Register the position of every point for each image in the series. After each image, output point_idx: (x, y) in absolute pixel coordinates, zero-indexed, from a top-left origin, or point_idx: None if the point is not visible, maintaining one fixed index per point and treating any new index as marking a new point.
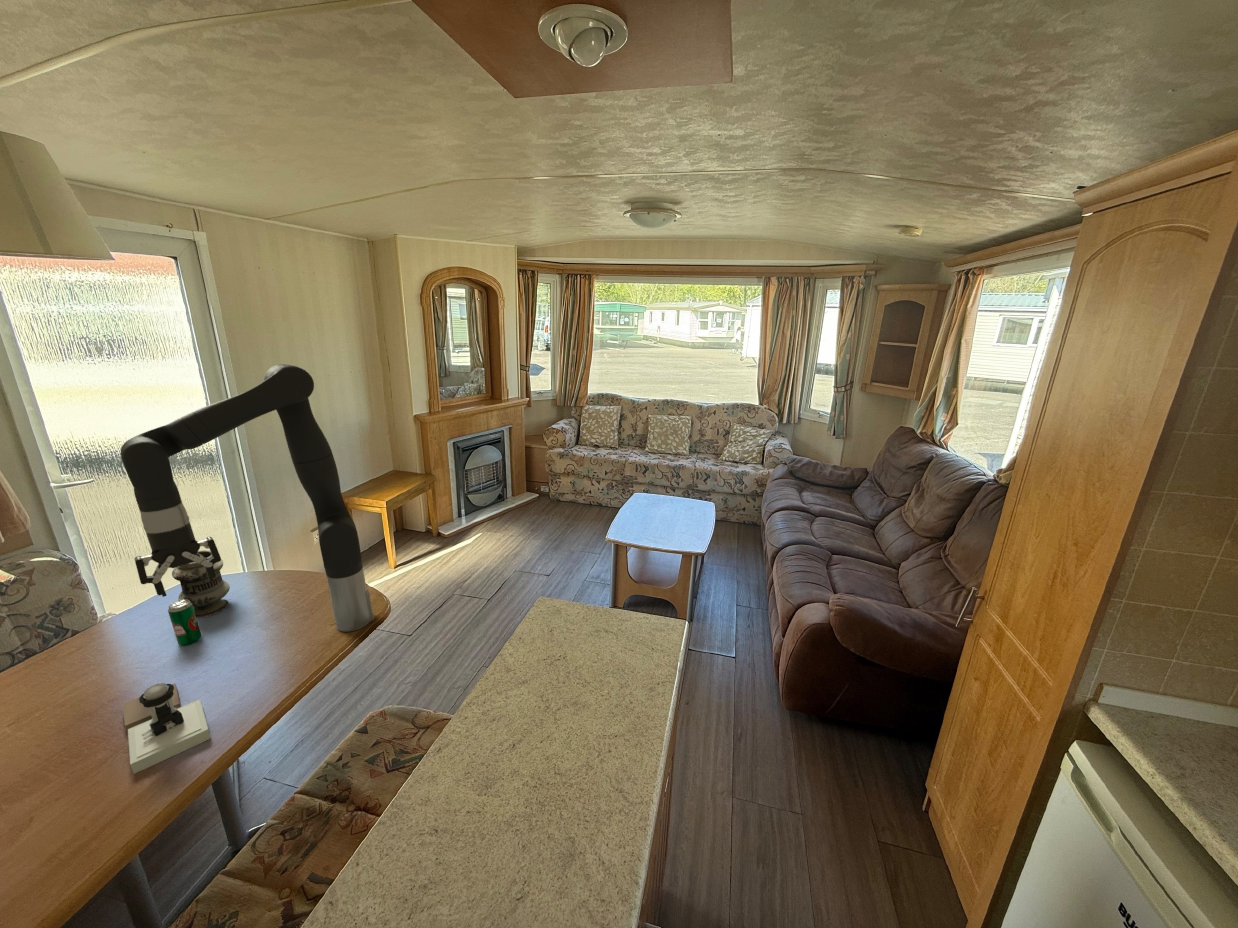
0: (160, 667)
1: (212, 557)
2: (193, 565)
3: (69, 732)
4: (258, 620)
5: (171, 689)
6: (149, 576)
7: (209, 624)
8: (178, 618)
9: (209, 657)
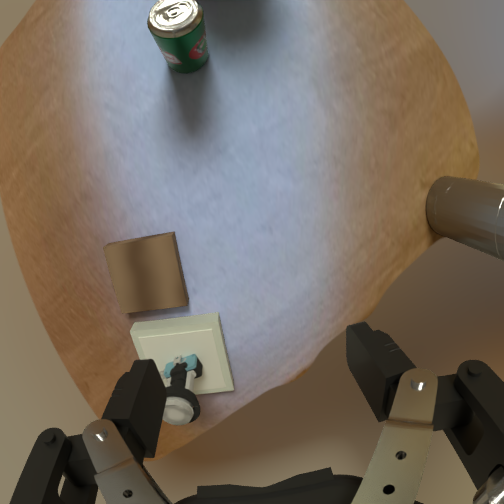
0: (139, 127)
1: (454, 410)
2: None
3: (55, 252)
4: (312, 59)
5: (197, 412)
6: (86, 468)
7: (222, 14)
8: (169, 47)
9: (221, 145)
